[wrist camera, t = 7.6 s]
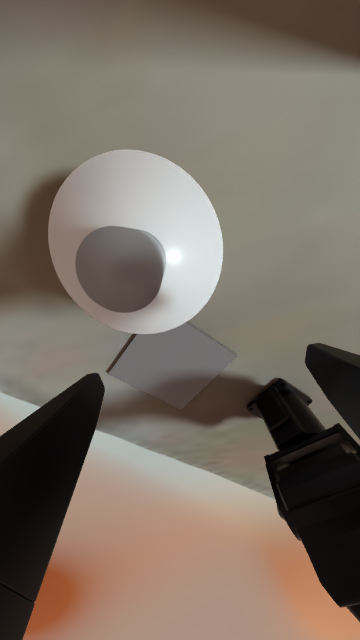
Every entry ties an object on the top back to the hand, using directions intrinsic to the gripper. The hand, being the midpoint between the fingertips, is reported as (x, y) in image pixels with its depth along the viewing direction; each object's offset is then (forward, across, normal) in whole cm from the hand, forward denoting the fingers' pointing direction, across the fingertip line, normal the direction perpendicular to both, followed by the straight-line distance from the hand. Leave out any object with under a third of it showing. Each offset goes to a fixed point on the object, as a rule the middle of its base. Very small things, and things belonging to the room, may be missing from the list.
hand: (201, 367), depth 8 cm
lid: (+7, +3, -4) cm, 9 cm away
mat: (+12, +3, +8) cm, 15 cm away
